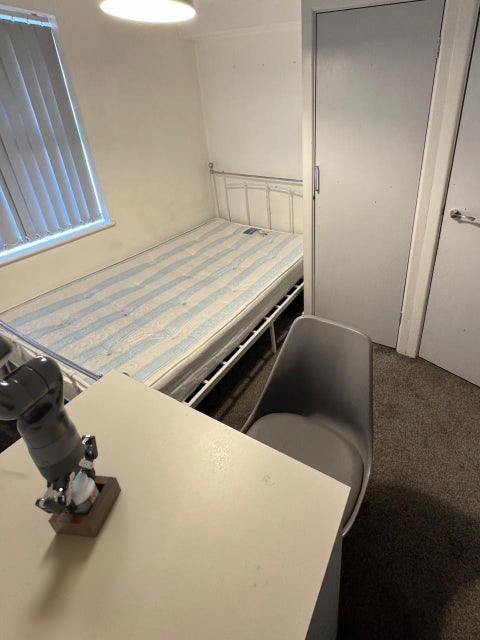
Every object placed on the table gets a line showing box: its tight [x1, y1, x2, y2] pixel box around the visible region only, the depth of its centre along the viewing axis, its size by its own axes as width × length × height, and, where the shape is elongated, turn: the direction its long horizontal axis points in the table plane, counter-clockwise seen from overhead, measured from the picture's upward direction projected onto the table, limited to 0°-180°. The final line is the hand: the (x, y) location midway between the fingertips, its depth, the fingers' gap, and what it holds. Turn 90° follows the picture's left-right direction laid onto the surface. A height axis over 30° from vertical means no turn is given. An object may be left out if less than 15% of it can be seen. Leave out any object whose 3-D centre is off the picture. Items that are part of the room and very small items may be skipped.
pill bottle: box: [71, 472, 99, 515], centre depth 71 cm, size 5×5×10 cm
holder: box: [48, 474, 122, 539], centre depth 72 cm, size 9×9×5 cm
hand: (81, 494), depth 70 cm, fingers closed on pill bottle, 5 cm apart
